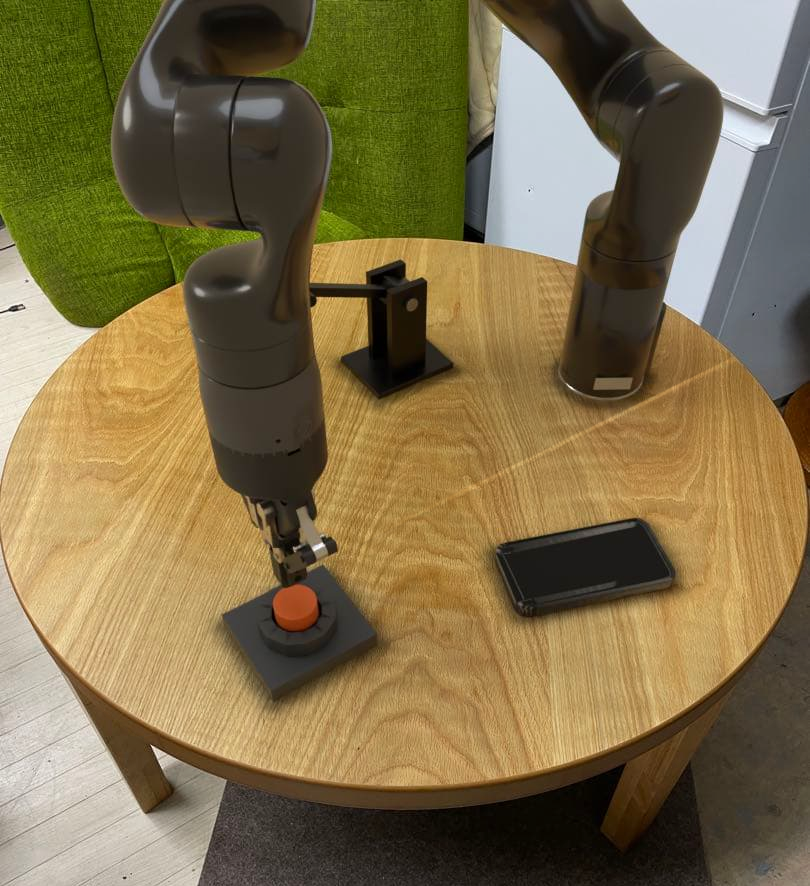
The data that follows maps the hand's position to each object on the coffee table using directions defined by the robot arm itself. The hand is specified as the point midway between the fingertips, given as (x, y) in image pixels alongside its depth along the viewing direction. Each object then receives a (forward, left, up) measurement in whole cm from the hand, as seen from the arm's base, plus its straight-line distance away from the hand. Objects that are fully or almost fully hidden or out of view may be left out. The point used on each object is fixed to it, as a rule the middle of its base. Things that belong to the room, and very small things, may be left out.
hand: (291, 577), depth 68 cm
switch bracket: (-27, -26, -8) cm, 38 cm away
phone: (-25, +8, -8) cm, 27 cm away
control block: (0, 0, -8) cm, 8 cm away
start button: (0, 0, -5) cm, 5 cm away
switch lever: (-21, -26, +3) cm, 34 cm away
